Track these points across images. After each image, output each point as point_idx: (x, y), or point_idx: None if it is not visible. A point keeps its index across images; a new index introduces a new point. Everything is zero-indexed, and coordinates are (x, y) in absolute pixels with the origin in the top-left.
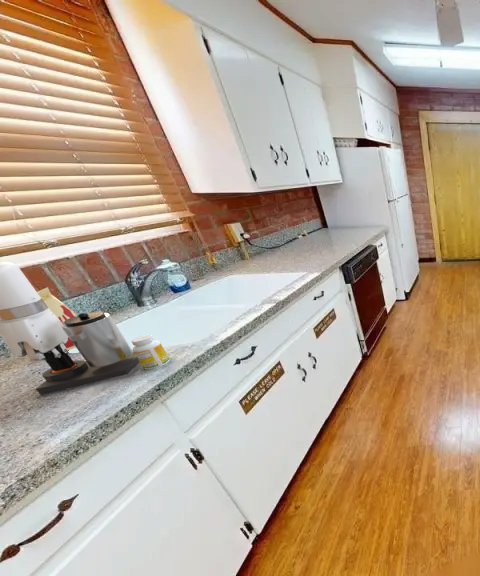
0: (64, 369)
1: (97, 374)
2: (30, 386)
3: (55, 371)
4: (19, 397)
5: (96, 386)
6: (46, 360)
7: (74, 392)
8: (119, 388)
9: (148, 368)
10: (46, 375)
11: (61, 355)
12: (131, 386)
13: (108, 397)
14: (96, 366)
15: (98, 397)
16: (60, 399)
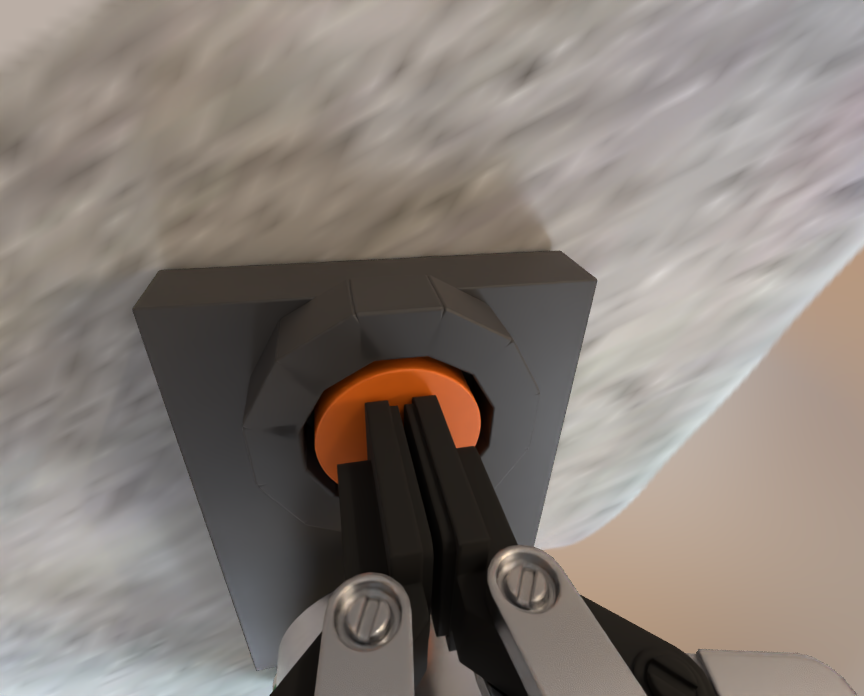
0: (359, 460)
1: (247, 590)
2: (436, 27)
3: (350, 411)
4: (200, 59)
5: (186, 538)
6: (390, 540)
7: (139, 468)
8: (112, 646)
9: (274, 684)
10: (280, 386)
11: (439, 625)
12: (118, 677)
13: (9, 657)
14: (282, 643)
15: (21, 619)
16: (48, 443)
